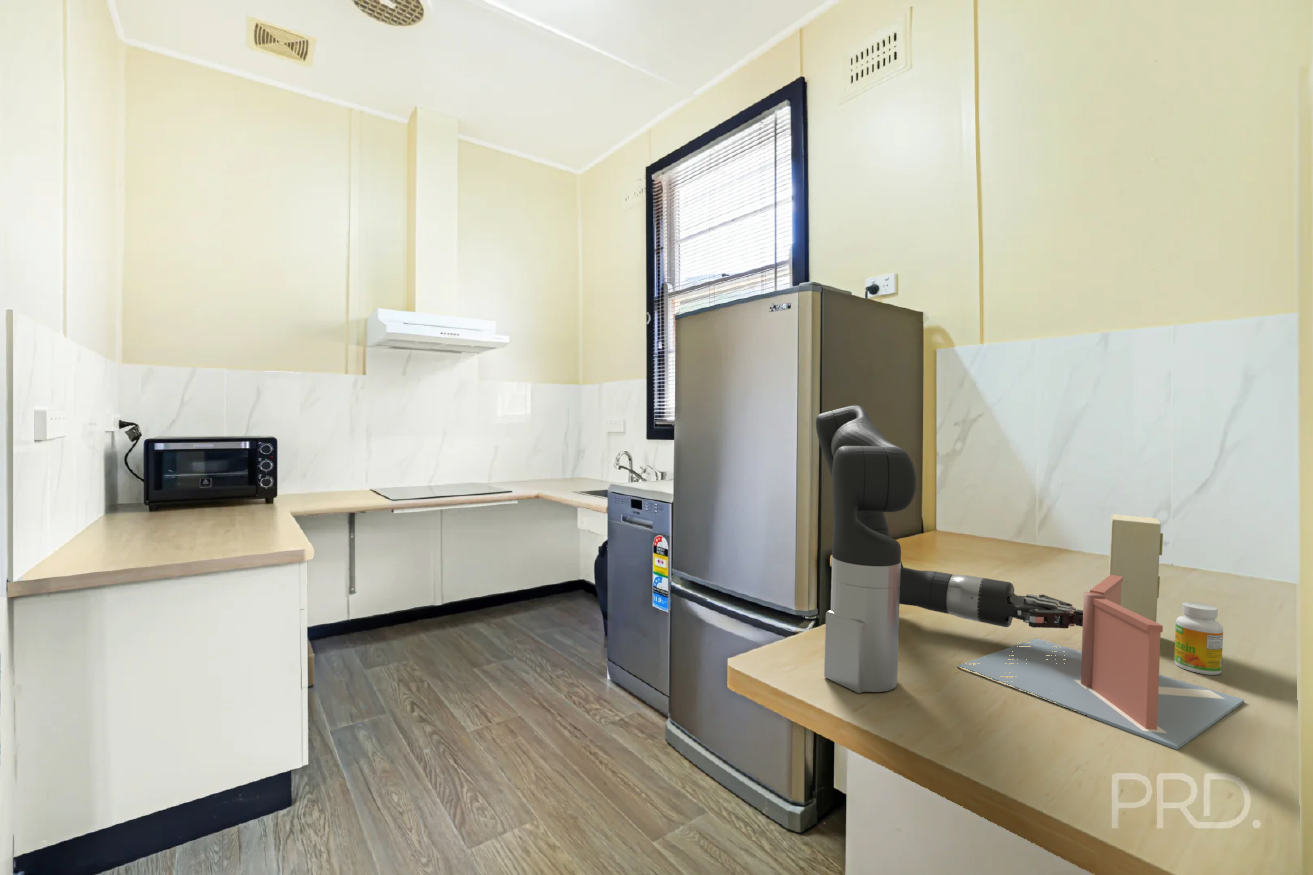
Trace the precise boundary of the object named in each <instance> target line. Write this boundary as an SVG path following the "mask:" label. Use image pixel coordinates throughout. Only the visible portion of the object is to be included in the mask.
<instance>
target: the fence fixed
mask: <svg viewBox="0 0 1313 875" xmlns="http://www.w3.org/2000/svg"><path fill="white" fill-rule="evenodd" d="M1082 608H1083V627H1082V631H1081V632H1082V635H1081V637H1082V640H1081V651H1082V660H1081V684H1082V685H1084V686H1086V687H1089V688H1092V689H1093V690H1094V691H1096V692H1097V693H1098V694H1100V695H1101V696H1102V697H1104V698H1105V699H1106V700H1108V701H1109V702H1110V703H1112V704H1113V705H1114V706H1116V707H1117V708H1119V709H1120V710H1121V711H1123V712H1124V713H1125V714H1127V715H1128V716H1129V717H1131V718H1132V719H1133V720H1135V721H1136V722H1137V723H1139V724H1140V725H1141V726H1143V727H1144V728H1145V729H1154V730H1157V715H1158V689H1159V674H1160V659H1161V657H1160V656H1161V636H1162V635H1161V633H1163V627H1164V625H1162V624H1160V623H1159V622H1157V621H1156V622H1154V621H1152V620H1150V619H1148V618H1145V617H1143V616H1141V615H1139V614H1137V613H1135V612H1133V611H1131V610H1128V609H1126V608H1124V607H1122V606H1120V605H1118V604H1116V603H1113V602H1111V601H1109V600H1107V599H1105V596H1104V595H1102V594H1098V593H1092V592H1090V591H1089V592H1087V591H1085V592H1083V607H1082Z"/></svg>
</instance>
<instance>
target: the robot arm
mask: <svg viewBox="0 0 1313 875" xmlns="http://www.w3.org/2000/svg"><path fill="white" fill-rule="evenodd" d="M815 429H816V434H817V439H818V441H819V445H820V448H821V451H822V453H823V456H824V459H825V462H826V465H827V468H828V470H829V473H830V476H831V477H832V478H831V479H832V481H831V482H832V506H833V507H832V510H833V517H832V518H833V520H832V522H833V524H832V549H831V550H832V551H831V582H830V584H831V585H830V586H831V589H830V610H827V611H826V613H825V630H824V632H825V636H824V637H825V638H824V671H823V672H824V673H823V675H824V676H823V677H825V678H827V680H828V679H829V681H832V682H834V683H837V684H838V685H840V686H843V687H844V688H847V689H849V690H851V691H853V692H855V693H858V694H861V693H863V692H864V693H865V692H866V693H867V692H869V693H882V692H889V691H891V690H894V689H895V688H896V687H897V686H898V671H899V670H898V666H899V631H900V630H899V629H900V624H899V623H900V605H905V606H914V607H918V608H922V609H925V610H928V611H932V612H937V613H942V614H947V615H951V616H954V617H957V618H961V619H964V620H969V621H974V622H978V623H979V622H980V623H983V624H988V625H992V626H993V625H994V626H997V627H1003V628H1009V627H1010V626H1011V625H1012V623H1013V619H1016V620H1021V621H1022V622H1023V623H1025V624H1028V627H1031V628H1036V629H1037V628H1039V629H1041V628H1043V629H1069V628H1071V627H1075V626H1077V627H1081V628H1083V610H1082V609H1077V607H1074V606H1073V604H1071V603H1070V602H1066V601H1062V600H1060V599H1058V598H1057V599H1056V598H1054V597H1052V596H1048V595H1046V594H1039V595H1037V594H1029V593H1027V594H1026V595H1017V594H1015V586H1014V585H1013V583H1012V582H1009V581H1004V580H1000V579H999V580H998V579H992V578H987V577H986V578H985V577H980V576H974V575H967V574H965V575H964V574H952V573H946V572H941V571H934V570H921V569H920V570H919V569H918V570H917V569H914V568H909V567H904V565H903V563H902V560H901V559H902V548H901V544H900V542H899V541H897V539H895V538H893V537H891V533H890V530H889V526H888V522H887V519H886V516H885V513H894V512H895V513H897V512H901V511H903V510H906V509H907V508H908V507H909V506H910V505H911V503H912V501H913V500H914V497H915V495H916V490H917V473H916V469H915V465H914V463H913V460H912V459H911V456H910V455H909V453H908V452H907V451H906V450H904V449H903V448H902V447H900V446H897V445H896V444H893V443H891V442H890V441H889V440H888V439H887V438H886V437H885V435H884V434H883V432H881V431H880V430H879V429H878V428H877V427H876V426H875V425H874V424H873V421H872V419H871V417H870V415H869V413H868V411H867V410H866V409H865V408H864V407H862V406H861V405H847V406H845V407H841V408H837V409H833V410H829V411H826V412H822V413H819V414H818V415H817V416H816V418H815Z"/></svg>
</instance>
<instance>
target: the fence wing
mask: <svg viewBox="0 0 1313 875" xmlns="http://www.w3.org/2000/svg"><path fill="white" fill-rule="evenodd" d="M1122 582H1123V577H1121V576H1115V575H1110V576H1109V575H1108V576H1107V577H1106V578H1105V579H1103V580H1101V581H1100V582H1099V583H1097V584H1096V585H1095V586H1093V587H1092V588H1091V589H1090V590H1089V592H1092V593H1098V594H1102V595H1104V596H1105V599H1107V600H1109V601H1111V602H1113V603H1116V604H1118V605H1120V606H1121V583H1122Z"/></svg>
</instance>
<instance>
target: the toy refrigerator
mask: <svg viewBox="0 0 1313 875" xmlns="http://www.w3.org/2000/svg"><path fill="white" fill-rule="evenodd" d="M1110 524H1111V525H1110V543H1109V544H1110V545H1109V564H1108V576H1110V575H1115V576H1121V577H1123V582H1122V583H1121V606H1122V607H1124V608H1126V609H1128V610H1131V611H1133V612H1135V613H1137V614H1139V615H1141V616H1143V617H1145V618H1148V619H1150V620H1152V621H1154V622H1156V623H1157V617H1158V616H1157V611H1158V599H1159V597H1160V596H1159V595H1160V585H1161V582H1160V581H1161V576H1160V574H1159V571H1160V570H1159V568H1160V556H1162V555H1163V544H1164V543H1163V542H1164V533H1163V532H1161V531H1162V530H1161V528H1162V524H1161V522H1160V519H1158V518H1157V517H1147V516H1139V515H1138V516H1137V515H1136V516H1135V515H1128V514H1127V515H1125V514H1111V523H1110Z"/></svg>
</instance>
